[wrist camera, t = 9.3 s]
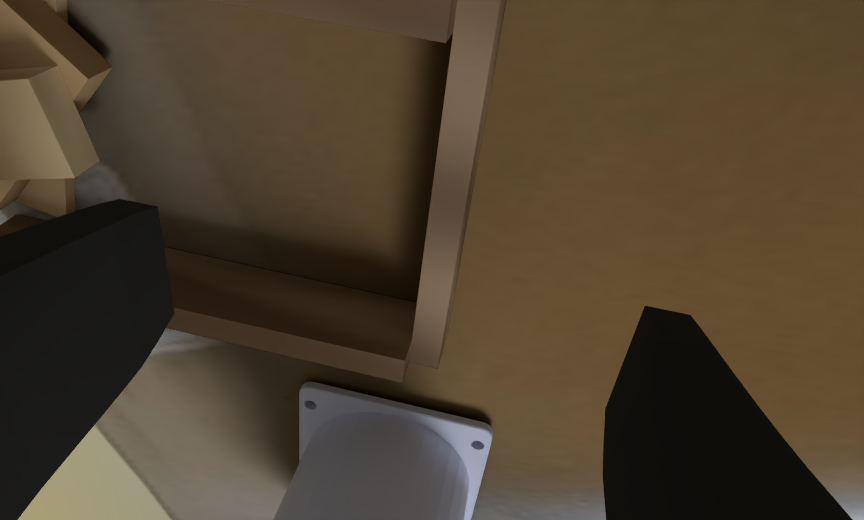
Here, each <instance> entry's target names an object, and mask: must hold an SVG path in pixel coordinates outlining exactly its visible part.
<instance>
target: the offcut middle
mask: <svg viewBox="0 0 864 520" xmlns="http://www.w3.org/2000/svg"><path fill="white" fill-rule="evenodd" d="M47 66H58V68H59V70H60V72H61V74H62V77H63V79H64V81H65V83H66V86H67V88H68V90H69V92H70V95H71V97H72V99H73V101H74V104H75V106H76V108H77V110H78V113H80V112H81V110H82V109H83V107H84V106H85V105H86V103H87V102H88V101H89V99H90V98H91V96H92V95H93V94H94V92H95V91H96V90H97V88H98V87H99V86H100V84H101V83H102V81H103V80H104V79H105V77H106V76H107V75H108V73H109V72H110V70H111V69H112V68H113V66H112V65H111V64H110V63H109V62H108V61H107V60H106V59H104V58H103V57H102V56H101V55H100V54H99V53H98V52H97V51H96V50H95V49H94V48H93V47H92V46H91V45H90V44H88V43H87V42H86V41H85V40H84V39H83V38H82V37H81V36H80V35H79V34H78V33H77V32H76V31H75V30H74V29H73V28H71V27H70V26H69V25H68V24H67V23H66V22H65V21H64V20H63V19H62V18H61V17H60V16H59V15H58V14H57V13H55V12H54V11H53V10H52V9H51V8H50V7H49V6H48V5H47V4H46V3H45V2H44V1H43V0H0V70H8V69H21V68H34V67H47ZM30 180H31V179H28V180H0V210H1V209H2V208H4V207H5V206H7V205H8V204H10V203H11V202H13V201H15V200H16V199H17V198H18V196H19V195H20V194H21V192H22V191H23V190H24V188H25V187H26V185H27V184H28V183H29V181H30Z"/></svg>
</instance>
